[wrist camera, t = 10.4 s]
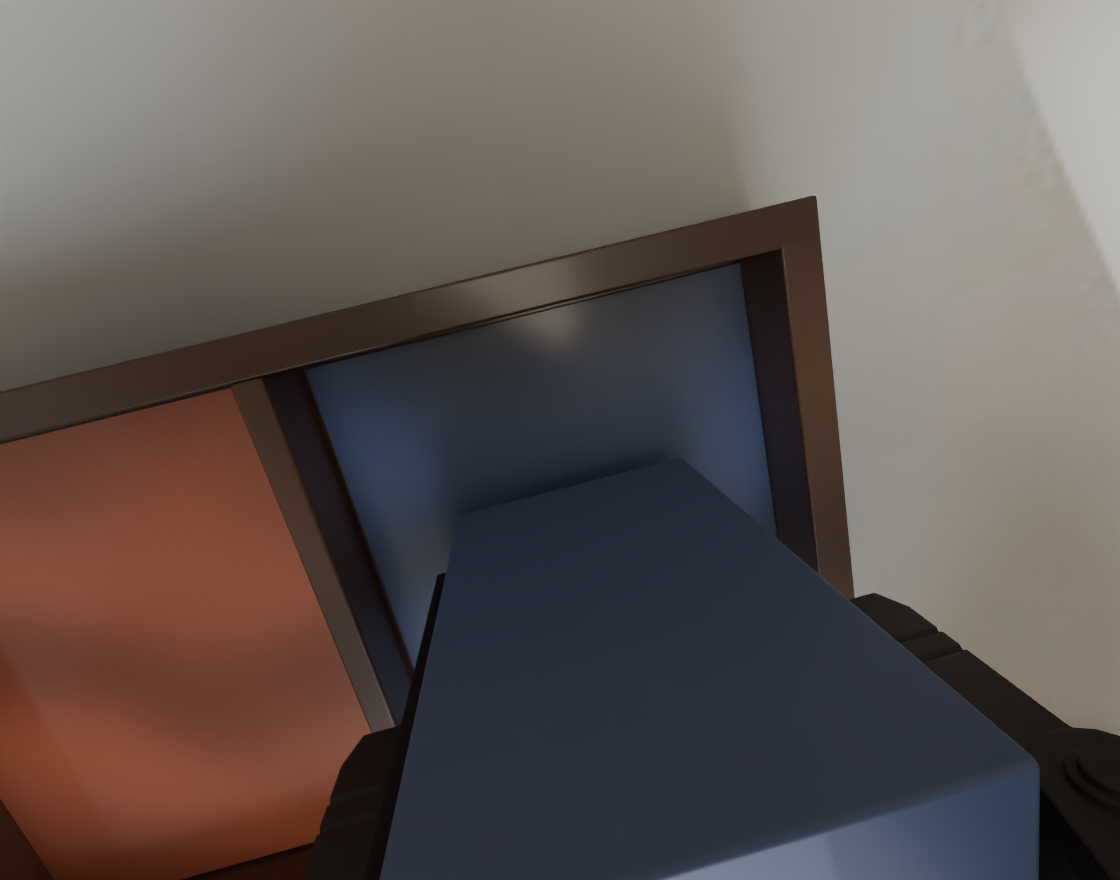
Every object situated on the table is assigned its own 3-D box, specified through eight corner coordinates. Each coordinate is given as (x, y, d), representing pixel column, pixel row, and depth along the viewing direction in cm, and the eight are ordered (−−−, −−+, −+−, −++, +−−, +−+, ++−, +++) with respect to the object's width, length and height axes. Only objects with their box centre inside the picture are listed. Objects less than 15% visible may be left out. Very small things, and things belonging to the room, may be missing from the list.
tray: (-221, 452, 11) (-423, 494, 9) (753, 217, 12) (817, 194, 10) (82, 909, 15) (-1, 1029, 13) (814, 702, 16) (872, 776, 14)
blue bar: (457, 514, 11) (357, 962, 4) (682, 456, 12) (1046, 762, 4) (515, 703, 13) (536, 1329, 5) (716, 648, 13) (1039, 1167, 5)
